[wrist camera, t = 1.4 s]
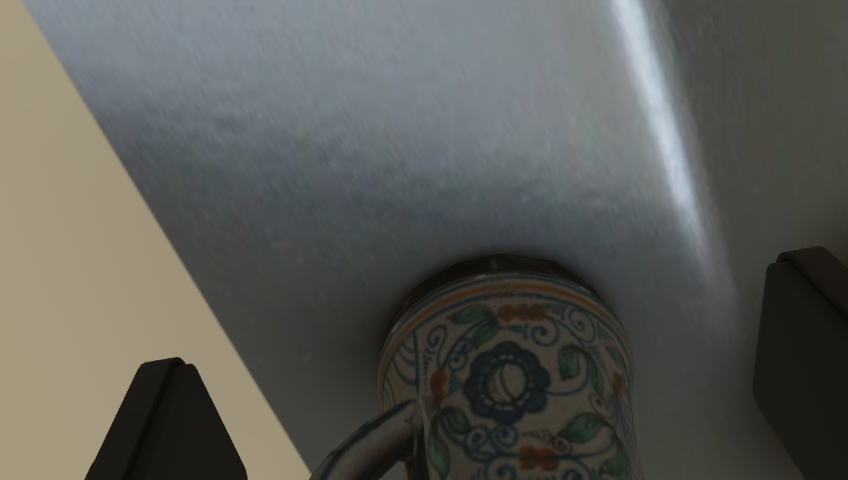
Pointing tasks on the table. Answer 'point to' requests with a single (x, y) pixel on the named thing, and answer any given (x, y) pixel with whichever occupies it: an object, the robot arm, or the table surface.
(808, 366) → the robot arm
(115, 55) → the table surface
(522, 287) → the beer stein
